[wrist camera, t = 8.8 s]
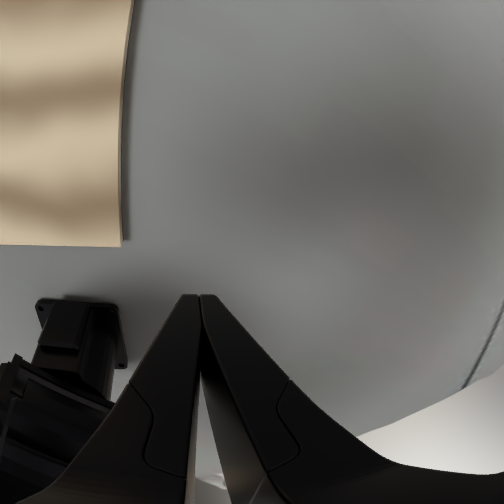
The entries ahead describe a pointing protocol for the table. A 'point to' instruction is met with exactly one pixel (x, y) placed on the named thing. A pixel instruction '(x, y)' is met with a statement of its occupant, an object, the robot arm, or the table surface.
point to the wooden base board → (62, 121)
